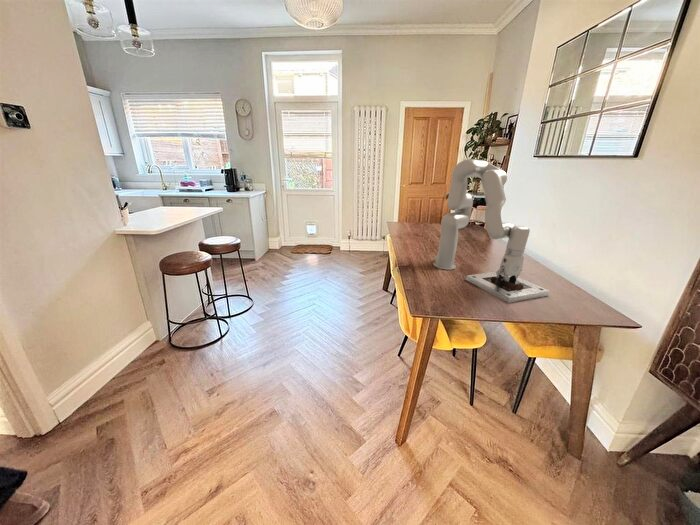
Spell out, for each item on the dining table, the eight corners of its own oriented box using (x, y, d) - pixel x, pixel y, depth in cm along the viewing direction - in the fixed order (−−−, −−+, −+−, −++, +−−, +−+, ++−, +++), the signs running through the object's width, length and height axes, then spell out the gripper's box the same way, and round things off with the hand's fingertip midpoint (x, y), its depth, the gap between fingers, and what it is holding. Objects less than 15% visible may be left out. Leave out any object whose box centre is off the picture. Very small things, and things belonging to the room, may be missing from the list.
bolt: (491, 285, 142) (519, 296, 130) (486, 282, 140) (514, 293, 127) (497, 275, 142) (525, 286, 129) (492, 272, 139) (520, 282, 127)
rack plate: (465, 279, 143) (466, 275, 142) (502, 274, 152) (503, 270, 151) (508, 302, 120) (509, 297, 119) (548, 295, 129) (550, 290, 128)
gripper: (507, 255, 123) (498, 291, 129) (534, 253, 129) (524, 286, 135) (494, 250, 130) (486, 284, 136) (520, 248, 136) (511, 280, 142)
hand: (505, 285), depth 135 cm, fingers open, 7 cm apart
